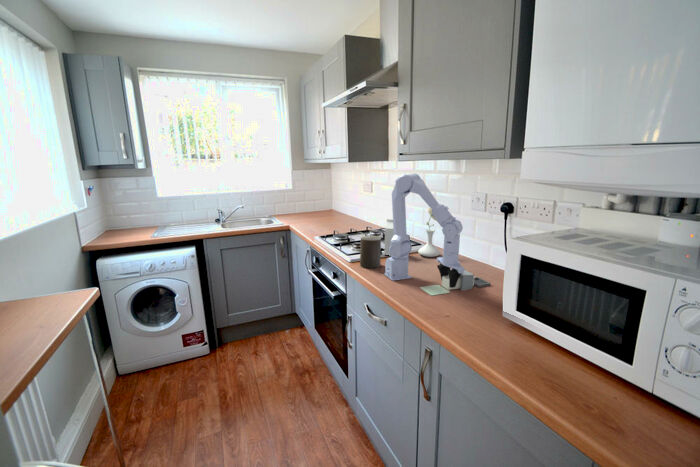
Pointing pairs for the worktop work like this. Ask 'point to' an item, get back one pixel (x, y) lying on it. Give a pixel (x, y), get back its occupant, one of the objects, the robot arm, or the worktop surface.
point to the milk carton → (388, 235)
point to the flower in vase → (429, 242)
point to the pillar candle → (370, 252)
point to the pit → (480, 282)
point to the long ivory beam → (446, 284)
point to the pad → (434, 290)
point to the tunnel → (466, 280)
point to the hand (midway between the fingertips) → (448, 284)
